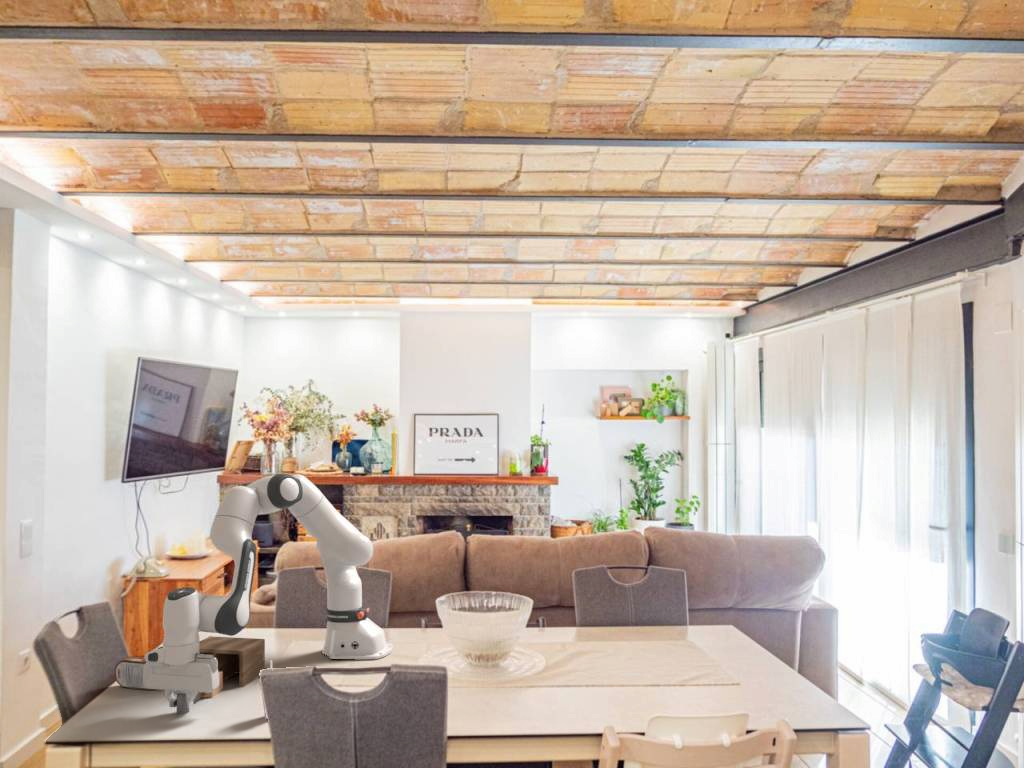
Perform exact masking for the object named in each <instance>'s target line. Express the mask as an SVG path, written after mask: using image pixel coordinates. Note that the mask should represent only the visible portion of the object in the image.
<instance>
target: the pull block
mask: <svg viewBox="0 0 1024 768" xmlns="http://www.w3.org/2000/svg"><path fill="white" fill-rule="evenodd" d="M218 673H219V686H218V688H217V689H216V690H214V691H212V692H210V693H205V692H197V695H196V696H195V698H194V700H193V704H194V703H196V702H197V701H198V700H200V699H201V698H213V696H214V697H215V696H216V695H218V694H219V693H221V690H222V689H223V690H224V688H223V687H224V680H223V672H218ZM223 690H222V691H223ZM217 693H218V694H217ZM189 696H190V695H188V691H178V692H177V693H176V698H177V706H176V714H177V715H178V714H183V715H186V713H187V714H188V712H189V713H190V708H184V706H185V705H184V702H185V701H187V700H188V698H189Z"/></svg>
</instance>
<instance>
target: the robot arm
mask: <svg viewBox="0 0 1024 768" xmlns="http://www.w3.org/2000/svg"><path fill="white" fill-rule="evenodd" d="M286 509H288V510H289V512H290V513H291V514H292V515H293V516H294V518H295V519H296V520H297V521H298V523H299V524H300V525H301V526H302V527H303V528H304V529H305V531H306V532H307V533H308V534H309V535H310V536H311V537H313V538H314V539H315V540H316V550H317V553H318V554H319V556H320V559H321V562H322V565H323V570H324V571H323V572H324V575H325V579H326V580H325V581H326V593H327V595H326V601H327V602H326V604H327V605H326V608H325V623H326V632H325V641H324V645H323V648H322V651H321V652H322V655H324V654H325V655H324V656H326V655H327V656H326V657H328V656H329V657H328V659H329V658H331V659H355V660H378V659H382V658H384V657H386V656H388V655H389V654H390V653H392V651H393V650H394V645H393V644H392V643H387V639H386V635H385V631H384V629H383V628H381V626H379V625H377V624H376V623H375V622H374V621H372V620H371V619H370V618H369V617H368V613H369V612H370V608H369V607H368V608H365V606H364V605H363V586H362V585H363V584H362V583H363V582H362V579H361V578H360V576H359V573H358V571H357V567H362V566H365V565H366V564H367V563H369V562H370V561H371V559H372V557H373V554H374V545H373V543H372V541H371V539H369V537H367V536H366V535H365V534H363V533H362V532H361V531H360V530H359V529H358V528H357V527H356V526H354V524H352V523H351V521H349V520H348V519H347V518H345V516H343V515H342V514H341V513H340V512H339V511H338V510H337V509H336V508H335V507H334V505H333V504H332V503H331V502H330V501H329V500H328V499H327V497H326V496H325V495H324V494H323V493H322V491H321V490H320V489H319V488H318V487H317V486H316V485H315V484H314V483H313V482H312V481H311V480H310V479H308V478H307V477H306V476H304V475H302V474H300V473H298V474H297V473H295V474H289V473H288V474H287V473H277V474H275V475H274V474H273V475H267V476H264V477H261V478H259V479H256V480H254V481H250V482H249V483H246V485H245V484H244V486H243V485H236V486H233V487H231V488H229V490H228V491H226V494H225V495H224V496H223V499H221V503H220V504H219V506H218V508H217V511H216V514H215V515H214V518H213V522H212V524H211V528H210V533H209V538H210V541H211V544H212V545H213V546H214V547H215V549H217V551H219V552H220V553H222V554H224V555H226V556H227V557H229V558H231V559H232V560H233V561H234V571H233V577H232V582H231V588H230V592H229V593H228V594H227V595H216V594H215V595H214V594H206V593H201V592H199V591H197V589H196V588H195V587H190V586H185V587H181V588H176V589H173V590H172V591H169V593H167V594H166V597H165V600H164V604H163V610H162V628H163V631H164V632H163V633H164V637H163V640H162V646H160V647H157V648H155V649H152V650H150V651H148V652H146V653H145V654H144V658H145V661H146V663H145V665H144V669H143V685H144V686H145V688H146V689H151V690H159V691H160V690H161V691H164V695H165V696H166V698H167V701H168V707H169V708H177V697H176V696H175V694H174V692H175V691H178V692H181V691H188V695H189V698H188V700H187V701H185V702H184V705H185V706H184V708H189V709H191V708H193V707H194V703H193V700H194V698H195V696H196V695H197V692H205V693H210V692H212V691H214V690H216V689H217V688H218V686H219V673H218V661H217V659H216V658H215V657H214V656H213V655H211V654H207V655H206V654H200V641H201V640H200V635H199V633H200V632H203V633H213V634H220V635H224V636H229V637H232V636H236V635H238V634H239V633H240V632H241V631H243V630H244V629H245V627H246V626H247V625H248V623H249V621H250V618H251V617H250V616H251V597H252V589H253V583H254V575H255V568H256V562H257V546H256V543H255V542H254V541H253V540H252V535H253V530H254V527H255V522H256V519H257V517H258V516H263V515H269V514H274V513H276V512H280V511H281V510H286ZM212 658H214V659H212ZM331 659H330V660H331Z"/></svg>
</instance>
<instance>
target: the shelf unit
mask: <svg viewBox="0 0 1024 768" xmlns="http://www.w3.org/2000/svg"><path fill="white" fill-rule="evenodd" d="M265 642H266V641H265V638H255V637H254V638H249V637H232V636H229V637H227V636H207V637H206V638H204V639H201V640H200V654H206V655H207V654H211V655H213V656H214V657H215V658H216V659H217V661H218V672H223V681H225V680H227V679H228V678H230V677H232V676H234V675H235V674H237V673H236V672H240V673H239V687H241V688H243V687H244V686H246V685H247V684H249V683H251V682H252V681H254V680H256V679H258V678H260V676H259V673H260V670H262V669H265V670H266V667H265V666H266V664H265V663H266V659H265V658H266V656H265V655H266V654H265V653H266V646H265V645H266V643H265ZM212 659H214V658H212ZM226 678H227V679H226ZM255 678H256V679H255Z"/></svg>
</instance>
